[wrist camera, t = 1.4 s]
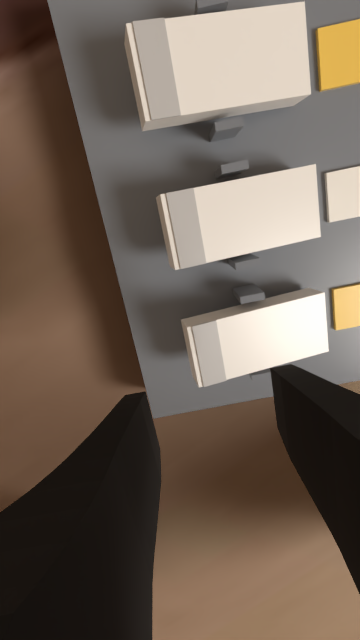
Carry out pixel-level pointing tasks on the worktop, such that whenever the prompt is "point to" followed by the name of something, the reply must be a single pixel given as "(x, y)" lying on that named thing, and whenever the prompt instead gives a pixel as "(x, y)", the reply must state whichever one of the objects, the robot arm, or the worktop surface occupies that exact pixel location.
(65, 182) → the worktop surface
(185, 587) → the worktop surface
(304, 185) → the rocker
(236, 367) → the rocker
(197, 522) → the worktop surface
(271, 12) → the rocker
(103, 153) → the switch box
